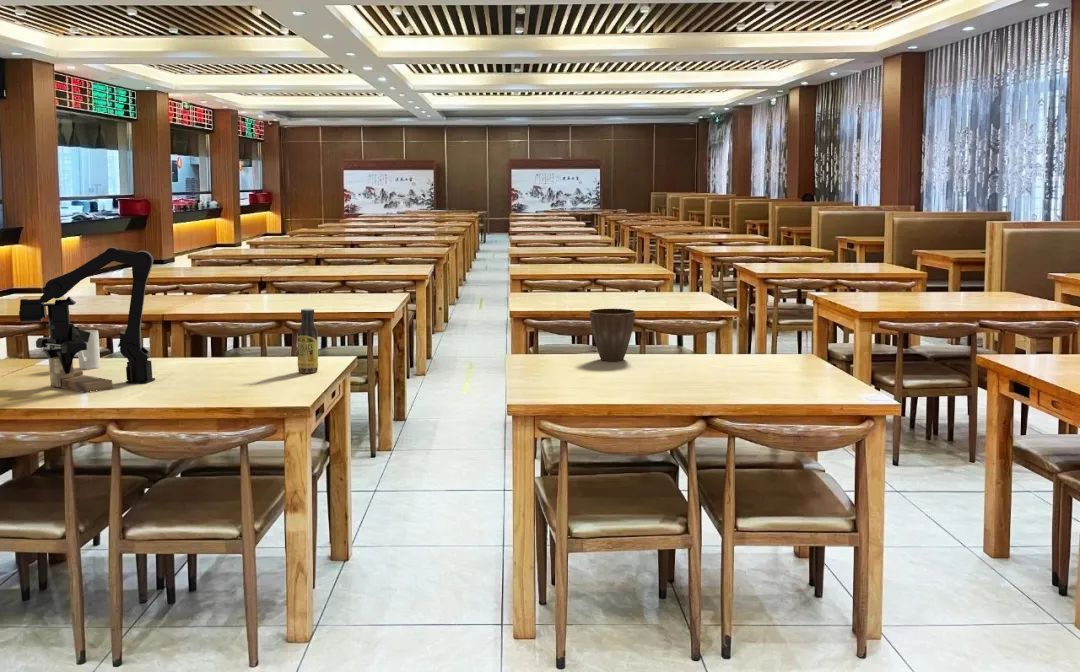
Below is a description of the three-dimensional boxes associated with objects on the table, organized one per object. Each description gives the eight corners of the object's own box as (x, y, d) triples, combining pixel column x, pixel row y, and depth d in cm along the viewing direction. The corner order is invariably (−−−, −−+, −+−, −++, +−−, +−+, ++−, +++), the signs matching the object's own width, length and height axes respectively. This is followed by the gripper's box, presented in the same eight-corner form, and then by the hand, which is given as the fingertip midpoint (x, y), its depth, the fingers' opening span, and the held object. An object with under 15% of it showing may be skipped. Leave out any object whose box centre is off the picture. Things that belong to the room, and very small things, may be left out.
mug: (83, 366, 359) (81, 330, 357) (104, 365, 359) (101, 329, 357) (70, 371, 349) (68, 334, 347) (91, 371, 349) (89, 334, 347)
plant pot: (636, 356, 362) (636, 308, 359) (634, 363, 347) (633, 313, 345) (592, 355, 364) (591, 308, 362) (587, 363, 349) (587, 313, 347)
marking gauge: (86, 382, 325) (84, 355, 324) (57, 386, 318) (55, 359, 317) (79, 380, 328) (76, 354, 327) (50, 385, 321) (48, 358, 320)
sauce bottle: (294, 373, 338) (291, 310, 335) (303, 370, 344) (300, 308, 341) (314, 374, 336) (311, 310, 334) (322, 370, 342) (320, 308, 340)
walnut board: (112, 388, 318) (111, 379, 317) (86, 392, 311) (86, 383, 311) (76, 381, 330) (75, 373, 329) (50, 385, 324) (50, 377, 323)
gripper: (102, 319, 320) (105, 371, 322) (68, 315, 331) (72, 366, 334) (65, 323, 311) (70, 377, 314) (33, 319, 323) (37, 371, 325)
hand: (63, 373), depth 322 cm, fingers closed on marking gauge, 4 cm apart
